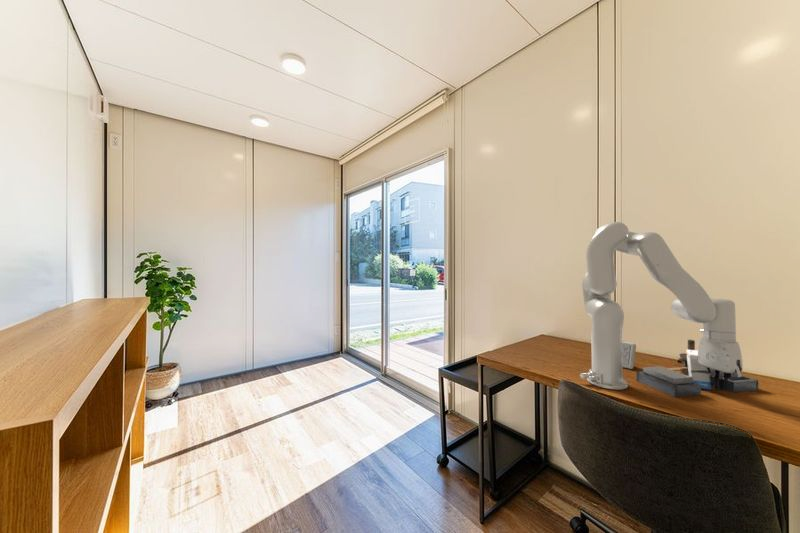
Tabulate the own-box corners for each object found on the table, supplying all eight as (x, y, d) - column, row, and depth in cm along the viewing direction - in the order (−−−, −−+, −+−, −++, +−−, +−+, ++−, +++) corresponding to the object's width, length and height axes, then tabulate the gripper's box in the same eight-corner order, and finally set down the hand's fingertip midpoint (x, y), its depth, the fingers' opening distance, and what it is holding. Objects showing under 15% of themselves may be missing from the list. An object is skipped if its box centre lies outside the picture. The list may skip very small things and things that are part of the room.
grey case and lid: (674, 397, 100) (674, 380, 99) (636, 380, 113) (636, 366, 113) (758, 390, 104) (758, 374, 103) (711, 375, 117) (711, 361, 117)
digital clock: (589, 360, 138) (588, 337, 138) (602, 357, 142) (602, 335, 142) (627, 371, 123) (626, 346, 123) (640, 368, 127) (640, 343, 126)
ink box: (711, 390, 104) (708, 356, 104) (691, 387, 107) (689, 354, 107) (706, 382, 110) (704, 350, 111) (688, 380, 113) (685, 348, 114)
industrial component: (680, 369, 125) (679, 340, 124) (677, 364, 130) (676, 337, 130) (712, 373, 119) (711, 343, 119) (707, 368, 125) (707, 340, 125)
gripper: (685, 331, 108) (687, 382, 108) (736, 341, 93) (738, 400, 93) (704, 330, 109) (705, 380, 109) (757, 340, 94) (759, 398, 94)
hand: (720, 389), depth 101 cm, fingers closed
